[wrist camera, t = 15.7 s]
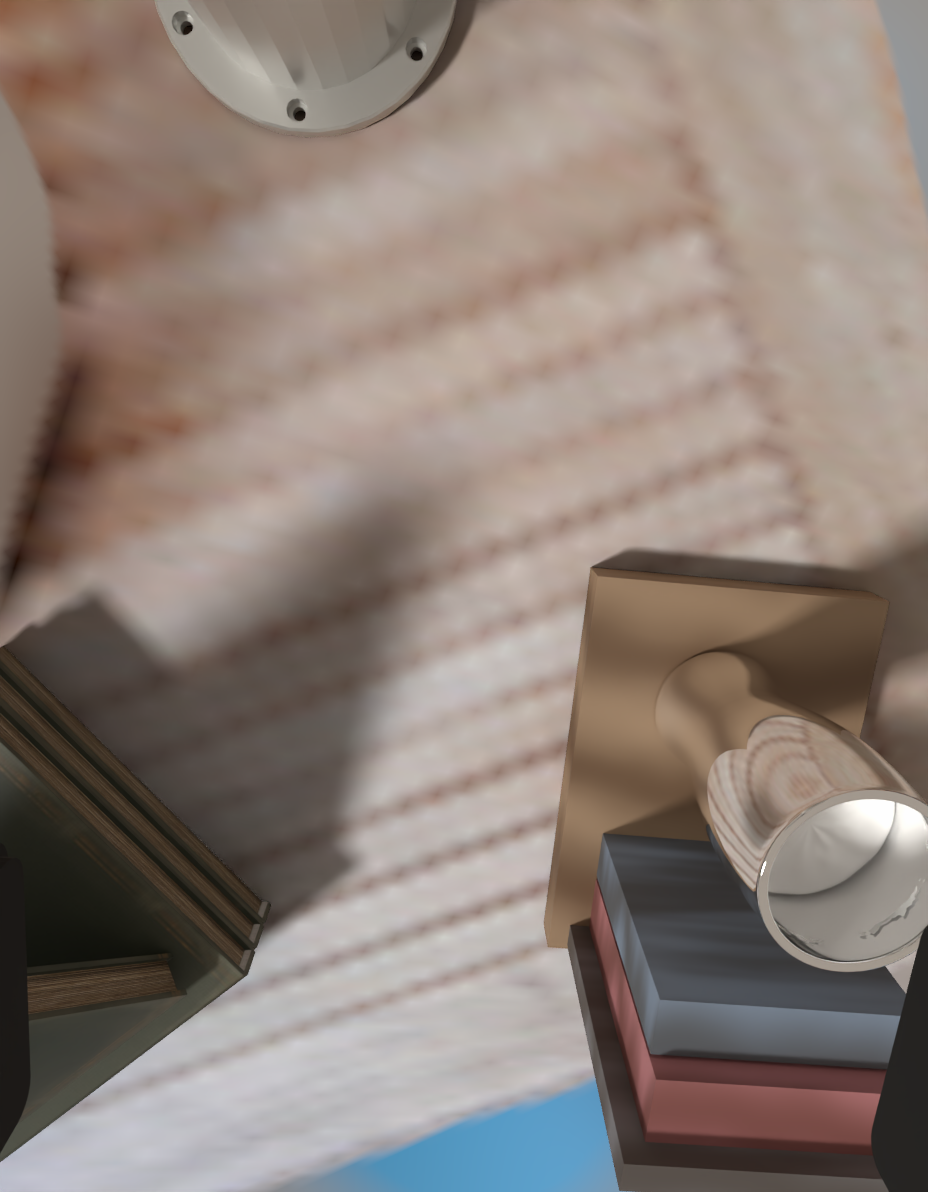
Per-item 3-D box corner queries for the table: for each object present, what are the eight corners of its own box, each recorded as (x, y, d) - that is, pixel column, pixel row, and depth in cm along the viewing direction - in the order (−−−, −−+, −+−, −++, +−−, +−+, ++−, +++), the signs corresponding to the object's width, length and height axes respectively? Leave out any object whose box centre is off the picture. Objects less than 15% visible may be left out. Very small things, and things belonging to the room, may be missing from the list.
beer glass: (621, 681, 41) (716, 845, 27) (753, 616, 41) (925, 746, 26) (680, 797, 43) (801, 1011, 28) (808, 735, 42) (1000, 922, 28)
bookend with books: (590, 567, 42) (675, 676, 26) (869, 591, 42) (1112, 713, 27) (543, 923, 47) (591, 1193, 31) (794, 941, 47) (964, 1215, 32)
